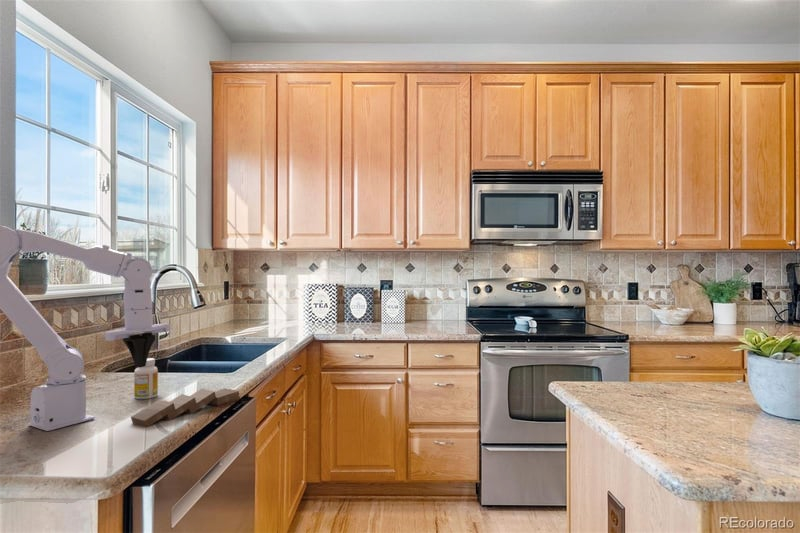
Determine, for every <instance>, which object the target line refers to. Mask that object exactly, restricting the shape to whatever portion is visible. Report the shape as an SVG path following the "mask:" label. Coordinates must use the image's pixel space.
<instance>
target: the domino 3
mask: <svg viewBox="0 0 800 533" xmlns="http://www.w3.org/2000/svg"><path fill="white" fill-rule="evenodd" d="M190 396H191V397H195V400H196V403H197V404H195V405H193V406H192V407H190V408H189V409H187V410H186V411H184V412H183V413H186V414H189V415H192V414H193V413H196V411H198V410H200V409H201V408H203V407H204V406H205V405H207V403H209V402H210V401H212V400H213V399H214V398H216V395H215V391H214V390H213V391H212V390H210V389H205V388H200V389H199V390H197V391H196V392H194V393H192V394H191V395H190Z"/></svg>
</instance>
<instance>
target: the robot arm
mask: <svg viewBox="0 0 800 533" xmlns="http://www.w3.org/2000/svg"><path fill="white" fill-rule="evenodd" d="M20 252H23V253H26V254H27V253H34V252H44V253H48V254H52V255H55V256H60V257H64V258H67V259H71V260H75V261H79V262H82V263H83V264H84V266H85V268H86V269H87V271H88V270H89V271H92V272H96V273H100V274H103V275H106V276H111V277H113V278H120V277H123V279H124V289H123V309H124V310H123V311H124V312H123V313H124V328H118V329H114V330H108V331H105V332H104V336H105V338H104V340H105V341H108V342H113V341H115V340H120V339H122V342H123V343H124V345H125V346H126V348H127V349H128V350H129V352H130V355H131V357H132V360H133V364H134V367H135V368H138V367H144V366H146V361H147V358H149V357H148V356H149V353H150V352H151V351H150V350H151V348H152V347H153V344H154V342H155V340H156V335H155V334H158V333H159V334H160V333H167V332H170V330H171V328H170V326H171V325H170V323H164V322H163V323H156V324H153V301H152V300H153V299H152V297H153V296H152V295H153V294H152V288H151V285H152V283H151V282H152V281H151V277H152V276H153V274H154V269H153V267H152V265H151V263H150V262H149V261H148V260H147V259H145V258H143V257H137V256H135V257H133V253H132V252H126V253H124V252H120V251H118V250H113V249H110V246H109V245H107V244H103V245H102V246H101V245H94V246H91V247H89V248H87V247H83V246H80V245H77V244H73V243H71V242H68V241H64V240H61V239H59V238H55V237H52V236H49V235H46V234H43V233H39V232H35V231H30V230H24V229H18V228H14V230H13V229H12V228H10V227H7V226H4V225H0V310H1V311H2V313H3V314H4V315H5V316H6V317H7V318H8V319H9V321H11V323H12V324H13V326H14V327H16V329H18V330H19V332H20V333H21V334H22V335H23V337H24V338H25V339H26V340H27V341H28V342H29V343H30V344H31V345H32V347H34V349H35V350H36V352H37V353H38V355H39V356H40V358H41V359H42V361H43V362H44V363H45V364H46V366H47V372H48V375H49V377H47V378H46V380H45V383H44V384H41V385H37V386H35V387H34V388H32V390H31V393H30V400H29V401H30V402H29V405H30V408H29V412H30V413H29V415H30V416H29V417H30V418H29V420H30V422H29V423H28V426H30V427H34V428H37V429H40V430H43V431H45V432H49V431H53V430H56V429H57V430H58V429H61V428H64V427H68V426H72V425H76V424H79V423H83V422H88V421H91V420H94V419H95V417H96V416H94V415H91V414H87V412H86V411H87V375H85V374H83V372H84V370H85V362H84V356H83V353H82V352H81V351H80V350H79V349H77V348H76V347H72V346H71V345H69V344H68V343H67V342H66V341H65V340H64V338H62V337H61V336H60V335H59V334H58V333H57V332H56V331H55V330H54V328H53V327H52V326H51V325H50V323H49V322H48V321H47V320H46V319H45V318H44V317H43V315H42V314H41V313H40V312H39V311H38V310H37V308H36V307H35V305H33V304H32V302H30V301H29V299H28V298H27V297H26V295H24V293H23V292H22V291H21V289H19V288H18V287H17V285H16V283H14V282H13V280H11V278H10V277H9V272H10V270H11V267H12V264H13V263H12V262H13V261H14V260H15V258H16V257H17V256H18V254H19V253H20Z"/></svg>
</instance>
